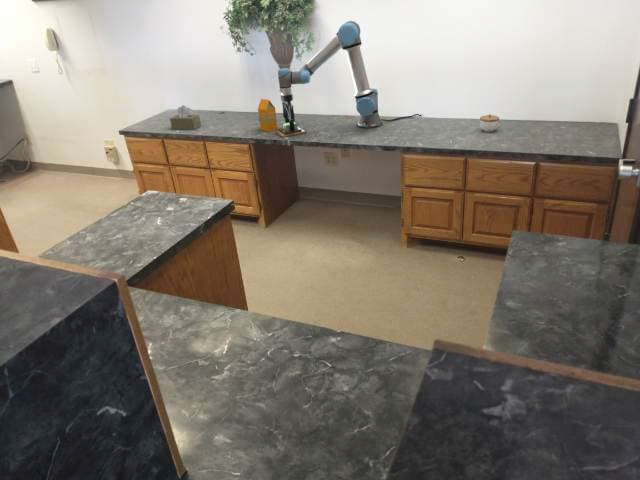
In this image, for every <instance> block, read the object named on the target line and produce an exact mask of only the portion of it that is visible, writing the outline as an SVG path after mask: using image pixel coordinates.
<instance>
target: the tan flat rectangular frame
mask: <svg viewBox="0 0 640 480" xmlns="http://www.w3.org/2000/svg"><path fill="white" fill-rule="evenodd" d="M297 129H298V130H293V131H288V132H285V131H284V130H283V127H282V128H281V127H280V128H278V130H275V134H277V135H278V136H280V137H281V138H286V137H291V136H295V135H300V134H305V133H306V130H304V129H302V128H300V127H299V126H297Z"/></svg>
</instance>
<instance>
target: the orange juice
mask: <svg viewBox="0 0 640 480" xmlns="http://www.w3.org/2000/svg"><path fill="white" fill-rule="evenodd" d="M257 111H258V121H259V126H260V127H259V128H260V131H263V132H268V133H270V132H273V131H277V130H278V122H277V113H276V107H275V106H274V104H273V103H272V102H271V100H270V99H264V98H261V99H260V101H259V104H258V107H257Z"/></svg>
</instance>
